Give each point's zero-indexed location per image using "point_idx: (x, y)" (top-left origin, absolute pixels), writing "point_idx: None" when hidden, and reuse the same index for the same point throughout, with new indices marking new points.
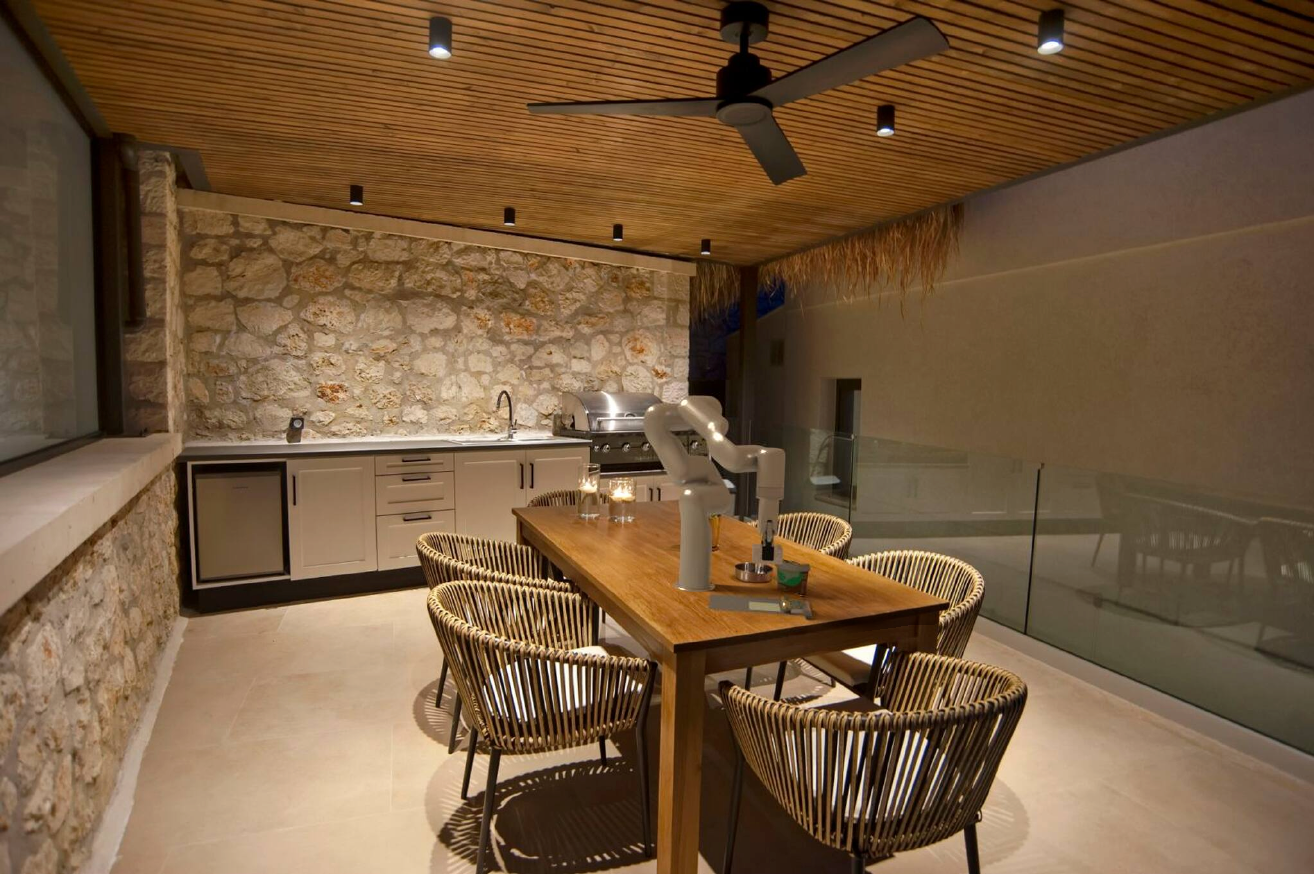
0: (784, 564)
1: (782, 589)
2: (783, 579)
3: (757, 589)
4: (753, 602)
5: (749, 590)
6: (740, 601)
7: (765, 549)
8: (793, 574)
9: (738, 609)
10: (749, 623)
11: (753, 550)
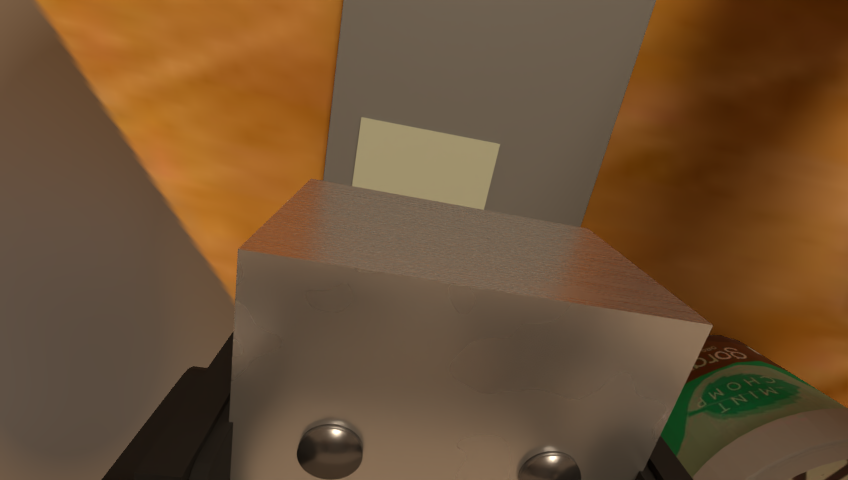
0: (771, 467)
1: None
2: (709, 394)
3: (767, 248)
4: (486, 167)
5: (760, 203)
6: (519, 96)
7: (120, 461)
8: (689, 461)
9: (368, 50)
10: (202, 80)
11: (255, 239)
